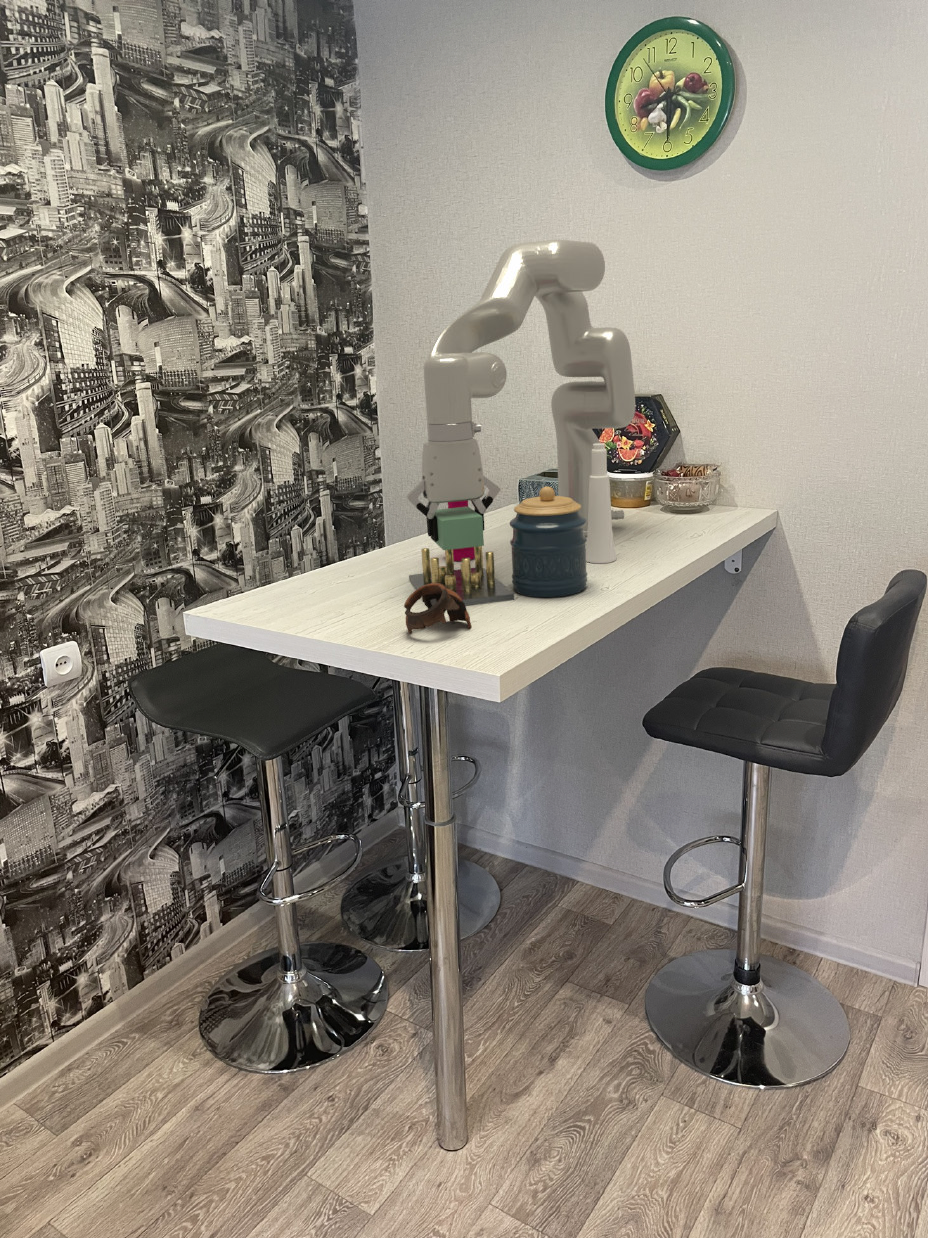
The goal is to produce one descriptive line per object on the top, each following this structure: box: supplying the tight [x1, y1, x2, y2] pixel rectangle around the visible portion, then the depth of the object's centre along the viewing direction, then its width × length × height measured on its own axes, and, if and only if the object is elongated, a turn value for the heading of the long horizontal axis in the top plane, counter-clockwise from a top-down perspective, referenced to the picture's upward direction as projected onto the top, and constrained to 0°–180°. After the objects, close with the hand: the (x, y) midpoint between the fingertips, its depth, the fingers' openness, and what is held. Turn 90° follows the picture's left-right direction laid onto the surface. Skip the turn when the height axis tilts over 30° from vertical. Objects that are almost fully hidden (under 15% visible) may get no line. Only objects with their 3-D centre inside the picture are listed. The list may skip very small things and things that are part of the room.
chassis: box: [408, 546, 515, 606], centre depth 163 cm, size 14×20×7 cm
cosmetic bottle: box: [586, 442, 617, 564], centre depth 175 cm, size 6×6×22 cm
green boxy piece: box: [434, 505, 485, 551], centre depth 160 cm, size 7×10×5 cm
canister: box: [509, 486, 588, 598], centre depth 159 cm, size 13×13×18 cm
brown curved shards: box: [403, 583, 472, 634], centre depth 143 cm, size 12×10×8 cm
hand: (456, 537), depth 161 cm, fingers closed on green boxy piece, 7 cm apart
